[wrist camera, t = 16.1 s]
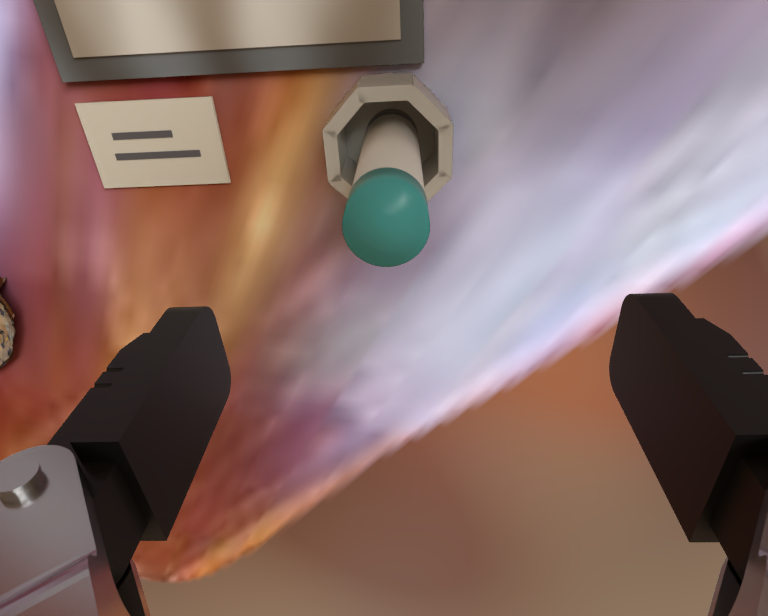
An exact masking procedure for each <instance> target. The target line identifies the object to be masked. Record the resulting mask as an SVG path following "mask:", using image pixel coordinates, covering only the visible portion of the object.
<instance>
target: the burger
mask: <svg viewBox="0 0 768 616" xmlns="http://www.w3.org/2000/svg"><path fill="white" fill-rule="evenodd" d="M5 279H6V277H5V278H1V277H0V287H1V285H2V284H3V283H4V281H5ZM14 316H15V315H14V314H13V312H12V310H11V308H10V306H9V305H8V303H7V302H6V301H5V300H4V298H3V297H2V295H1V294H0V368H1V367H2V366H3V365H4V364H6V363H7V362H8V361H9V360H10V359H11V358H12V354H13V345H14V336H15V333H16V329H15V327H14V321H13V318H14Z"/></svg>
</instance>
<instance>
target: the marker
mask: <svg viewBox="0 0 768 616" xmlns="http://www.w3.org/2000/svg"><path fill="white" fill-rule="evenodd" d="M342 230H343V235H344V239H345V241H346V243H347V245H348V247H349V248H350V249H351V251H352V252H353V253H354V254H355V255H356V256H357V257H359V258H360V259H362V260H363V261H365V262H367V263H369V264H372V265H376V266H382V267H391V266H397V265H401V264H404V263H406V262H408V261H410V260H411V259H413V258H414V257H415V256H417V255H418V254H419V253H420V251H421V250H422V249H423V247H424V246H425V244H426V242H427V240H428V237H429V232H430V219H429V212H428V204H427V198H426V194H425V190H424V182H423V174H422V165H421V157H420V149H419V141H418V133H417V128H416V125H415V123H414V121H413V119H412V118H411V117H410V116H409V115H408V114H407V113H405V112H403V111H401V110H398V109H385V110H382V111H380V112H378V113H377V114H376V115H374V116H373V117H372V119H371V120H370V121H369V123H368V126H367V129H366V133H365V137H364V141H363V145H362V149H361V153H360V157H359V161H358V165H357V169H356V173H355V177H354V181H353V185H352V188H351V190H350V193H349V196H348V200H347V204H346V208H345V211H344V215H343V220H342Z"/></svg>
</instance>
